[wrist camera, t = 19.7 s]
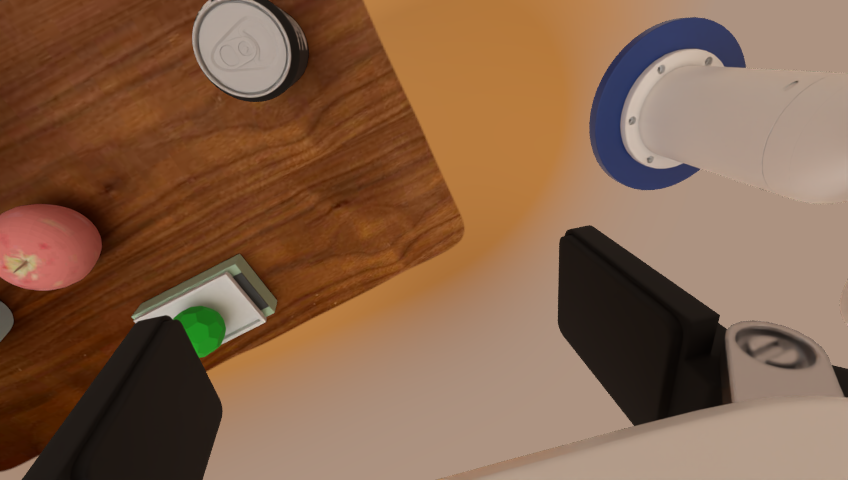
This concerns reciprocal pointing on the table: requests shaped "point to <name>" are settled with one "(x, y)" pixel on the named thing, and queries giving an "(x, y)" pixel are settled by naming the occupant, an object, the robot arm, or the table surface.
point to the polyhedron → (203, 328)
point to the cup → (5, 320)
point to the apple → (46, 246)
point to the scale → (218, 297)
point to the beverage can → (249, 48)
